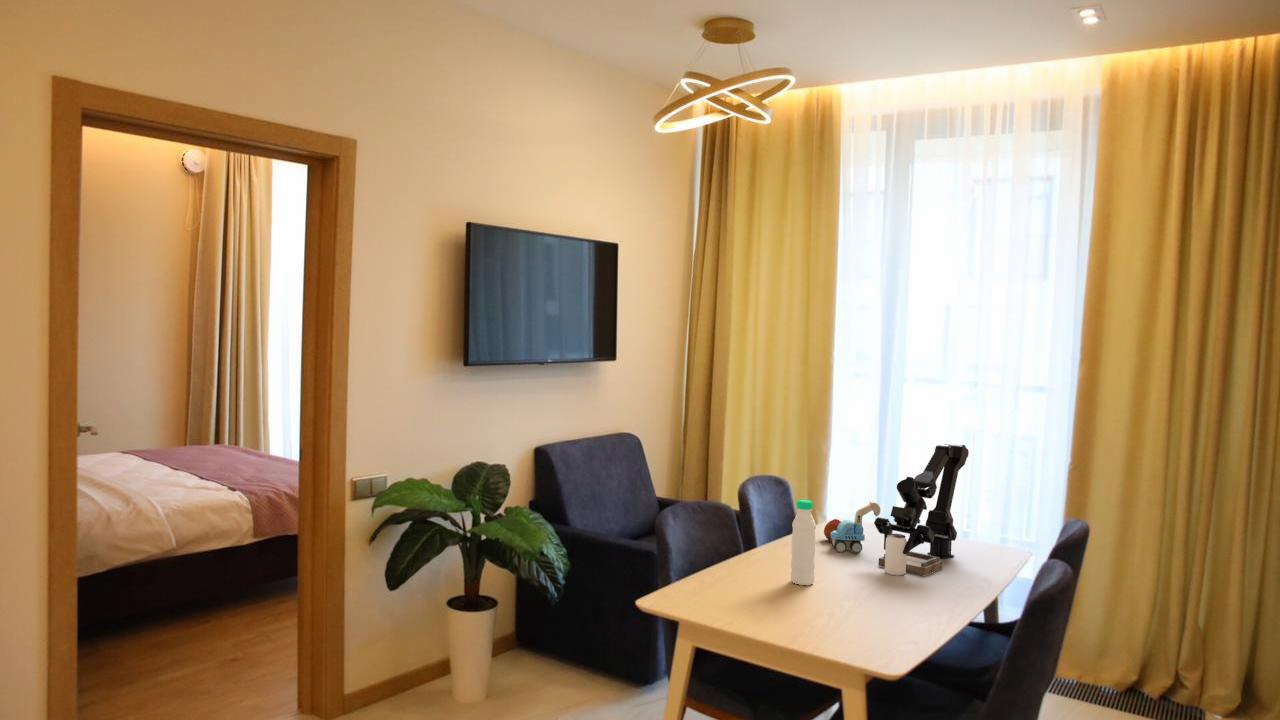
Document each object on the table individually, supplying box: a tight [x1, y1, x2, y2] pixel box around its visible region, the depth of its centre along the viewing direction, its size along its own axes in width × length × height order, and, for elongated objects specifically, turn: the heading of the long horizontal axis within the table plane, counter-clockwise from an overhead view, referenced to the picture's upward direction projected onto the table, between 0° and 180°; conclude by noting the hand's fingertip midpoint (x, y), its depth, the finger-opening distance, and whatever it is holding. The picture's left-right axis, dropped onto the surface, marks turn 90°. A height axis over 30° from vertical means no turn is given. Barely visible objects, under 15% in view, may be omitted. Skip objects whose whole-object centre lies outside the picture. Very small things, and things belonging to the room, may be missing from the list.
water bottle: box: [790, 499, 817, 586], centre depth 275 cm, size 7×7×25 cm
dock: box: [878, 550, 943, 577], centre depth 296 cm, size 12×16×4 cm
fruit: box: [823, 518, 842, 541], centre depth 329 cm, size 9×9×8 cm
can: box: [884, 533, 908, 577], centre depth 288 cm, size 6×6×12 cm
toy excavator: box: [829, 501, 881, 554], centre depth 316 cm, size 9×17×17 cm, turn 89°
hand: (894, 551), depth 287 cm, fingers closed on can, 6 cm apart
